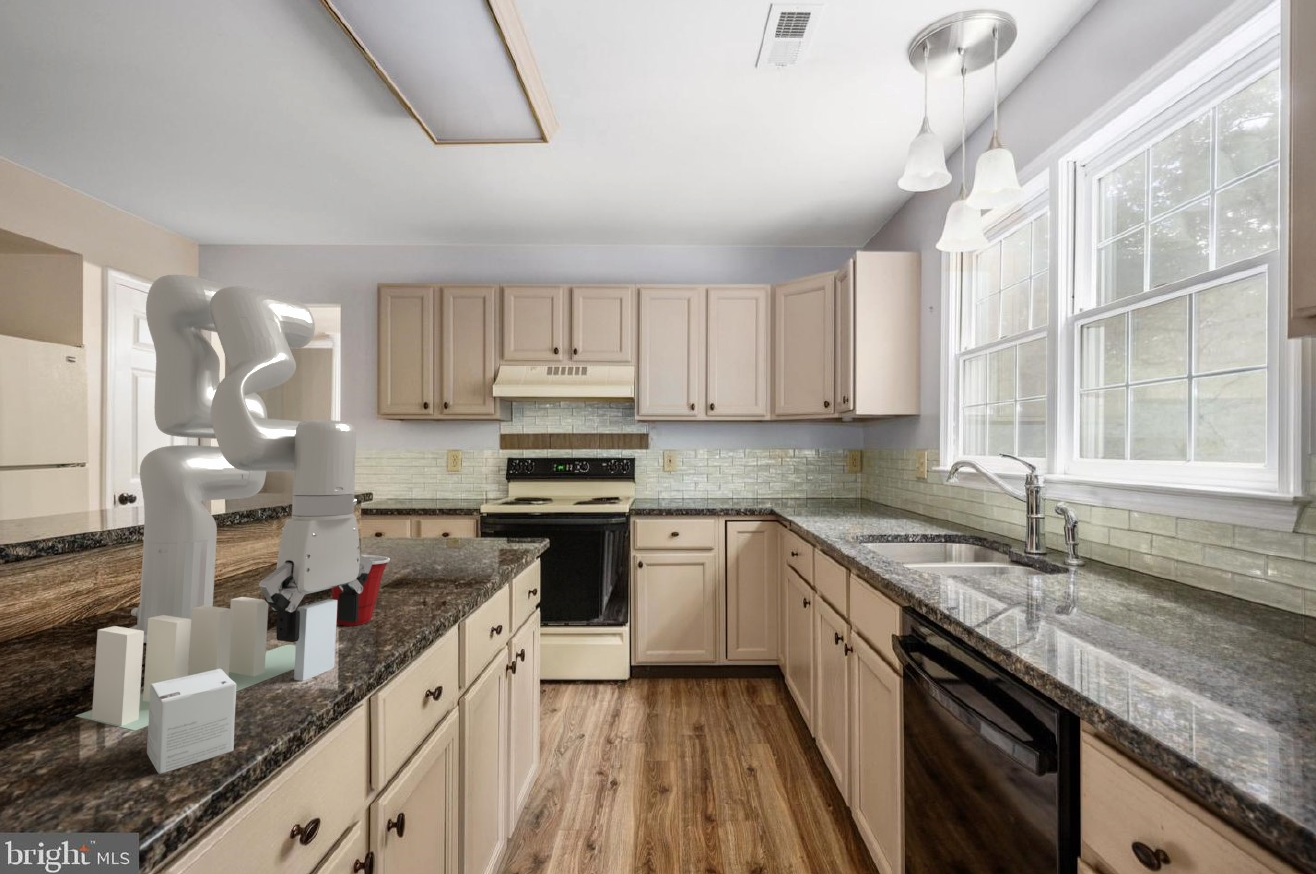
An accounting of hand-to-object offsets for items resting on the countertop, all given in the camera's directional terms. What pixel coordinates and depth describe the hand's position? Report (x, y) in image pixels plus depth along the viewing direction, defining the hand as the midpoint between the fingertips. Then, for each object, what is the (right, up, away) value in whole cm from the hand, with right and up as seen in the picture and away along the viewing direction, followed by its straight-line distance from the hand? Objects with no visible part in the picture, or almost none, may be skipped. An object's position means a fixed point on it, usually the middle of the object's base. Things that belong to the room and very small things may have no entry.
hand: (319, 630), depth 79 cm
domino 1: (-14, -5, -15) cm, 21 cm away
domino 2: (-13, -5, -10) cm, 17 cm away
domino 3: (-12, -6, -5) cm, 14 cm away
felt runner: (-11, -6, -3) cm, 13 cm away
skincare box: (-1, -6, -21) cm, 22 cm away
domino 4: (-10, -6, 0) cm, 12 cm away
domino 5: (-1, -6, 0) cm, 6 cm away
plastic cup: (-9, -7, +25) cm, 28 cm away
